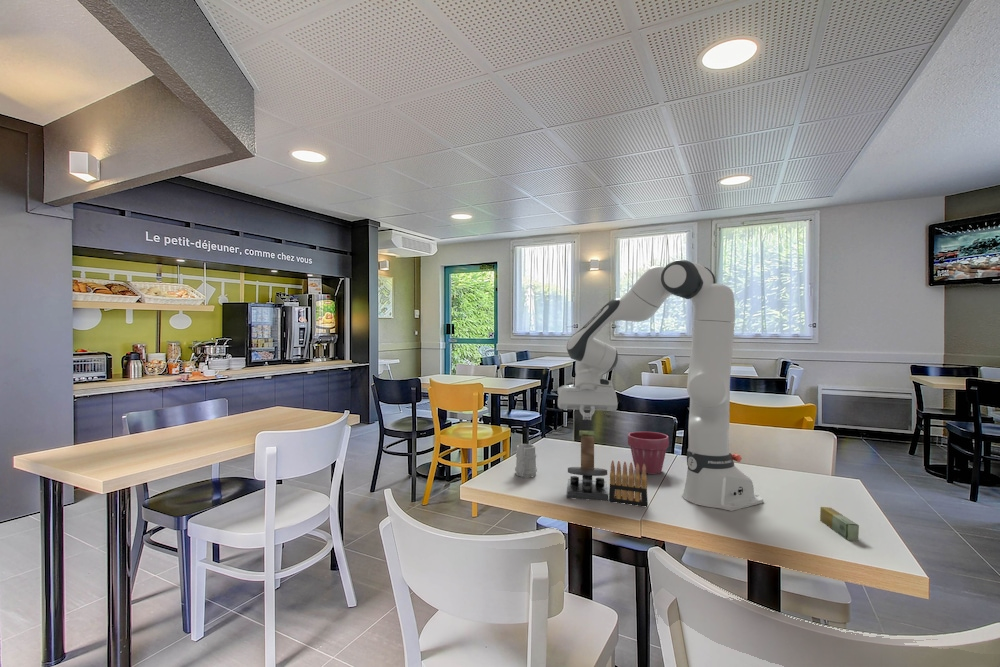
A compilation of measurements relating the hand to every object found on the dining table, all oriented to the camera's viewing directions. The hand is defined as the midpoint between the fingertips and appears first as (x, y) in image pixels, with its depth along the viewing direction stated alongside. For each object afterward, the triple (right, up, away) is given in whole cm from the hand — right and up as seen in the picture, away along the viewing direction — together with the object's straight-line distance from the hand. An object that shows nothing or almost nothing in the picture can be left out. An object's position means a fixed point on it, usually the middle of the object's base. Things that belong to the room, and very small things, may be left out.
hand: (587, 418), depth 152 cm
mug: (-21, -21, +4) cm, 30 cm away
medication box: (+56, -21, -38) cm, 71 cm away
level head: (-2, -15, -12) cm, 19 cm away
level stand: (-2, -21, -12) cm, 24 cm away
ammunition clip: (+8, -21, -21) cm, 30 cm away
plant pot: (+24, -21, +11) cm, 34 cm away
